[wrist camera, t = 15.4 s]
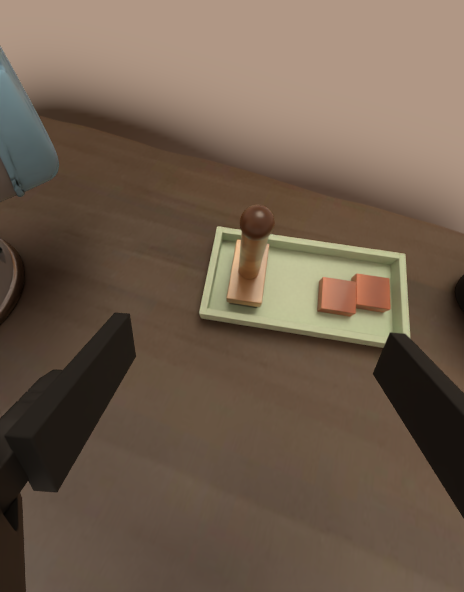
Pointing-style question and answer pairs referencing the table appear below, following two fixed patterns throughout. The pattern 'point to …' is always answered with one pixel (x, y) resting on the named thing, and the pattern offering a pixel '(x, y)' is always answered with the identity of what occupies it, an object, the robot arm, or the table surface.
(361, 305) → the orange square block
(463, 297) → the mug
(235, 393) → the table surface
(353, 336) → the tray
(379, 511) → the table surface
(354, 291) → the chip
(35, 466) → the robot arm
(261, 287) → the wooden handle stamp
